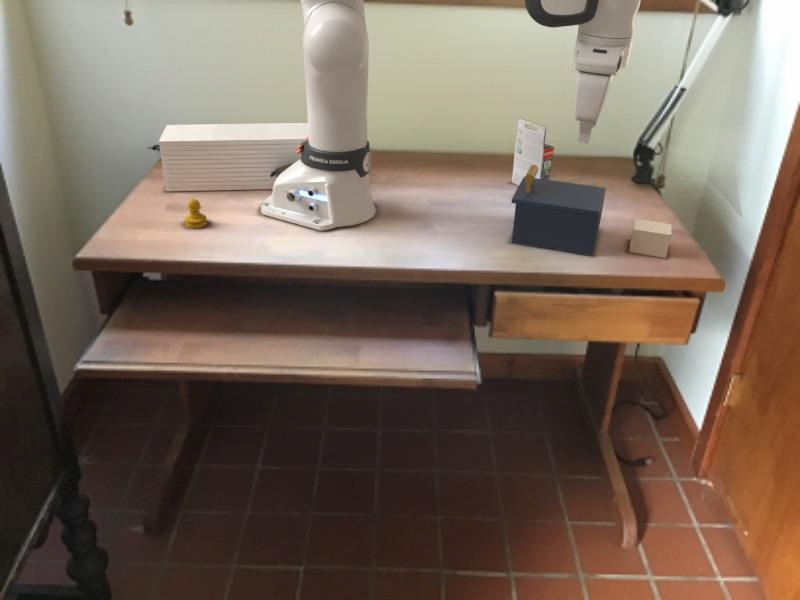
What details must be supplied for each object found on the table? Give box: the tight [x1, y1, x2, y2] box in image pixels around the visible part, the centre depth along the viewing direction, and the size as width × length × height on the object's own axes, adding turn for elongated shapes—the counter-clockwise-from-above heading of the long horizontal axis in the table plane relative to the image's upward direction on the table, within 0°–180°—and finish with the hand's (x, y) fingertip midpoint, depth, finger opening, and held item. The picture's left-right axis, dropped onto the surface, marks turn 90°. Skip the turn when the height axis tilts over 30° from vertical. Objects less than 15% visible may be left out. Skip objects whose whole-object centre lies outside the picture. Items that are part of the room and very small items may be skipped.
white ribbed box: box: [158, 122, 308, 192], centre depth 159 cm, size 32×11×11 cm, turn 96°
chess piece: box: [184, 198, 208, 229], centre depth 141 cm, size 4×4×5 cm
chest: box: [511, 194, 606, 257], centre depth 139 cm, size 15×12×8 cm
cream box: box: [628, 218, 673, 259], centre depth 136 cm, size 6×5×5 cm
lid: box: [511, 165, 607, 216], centre depth 136 cm, size 15×12×5 cm
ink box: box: [511, 117, 555, 187], centre depth 158 cm, size 4×8×15 cm, turn 39°
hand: (587, 133), depth 130 cm, fingers open, 8 cm apart
